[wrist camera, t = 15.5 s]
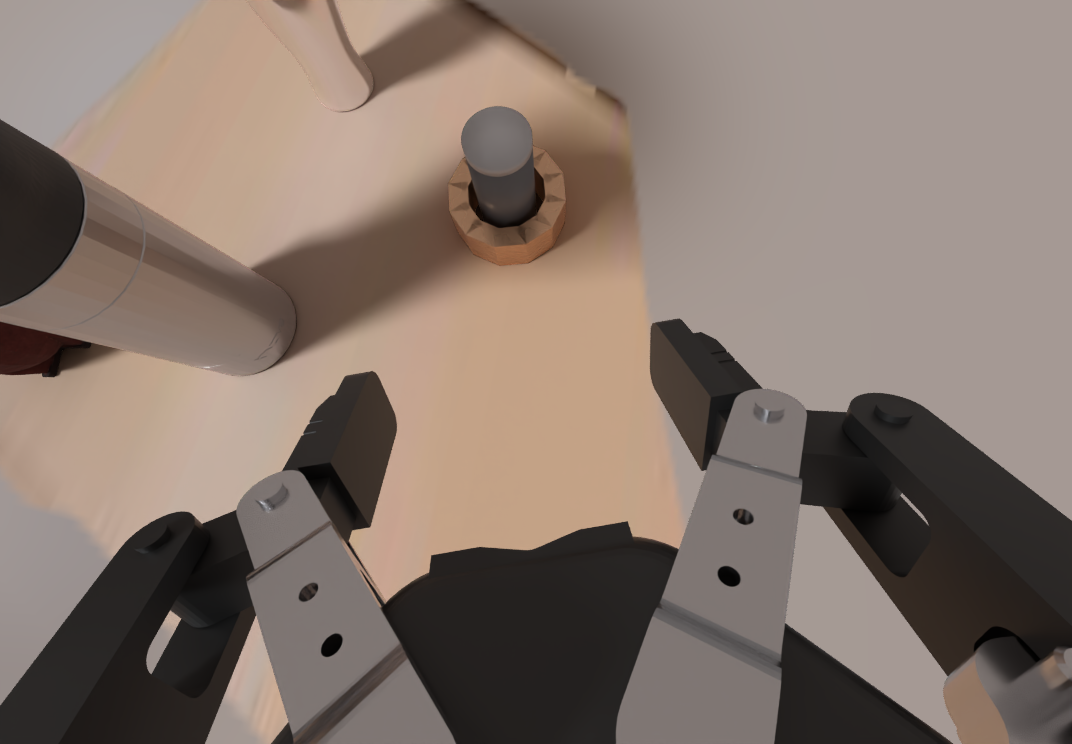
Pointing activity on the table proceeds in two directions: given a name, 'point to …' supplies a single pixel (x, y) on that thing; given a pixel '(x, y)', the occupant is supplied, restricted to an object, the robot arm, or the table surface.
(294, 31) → the beer glass
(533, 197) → the plug
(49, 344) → the mate gourd
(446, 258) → the table surface
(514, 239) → the wooden polygonal ring
